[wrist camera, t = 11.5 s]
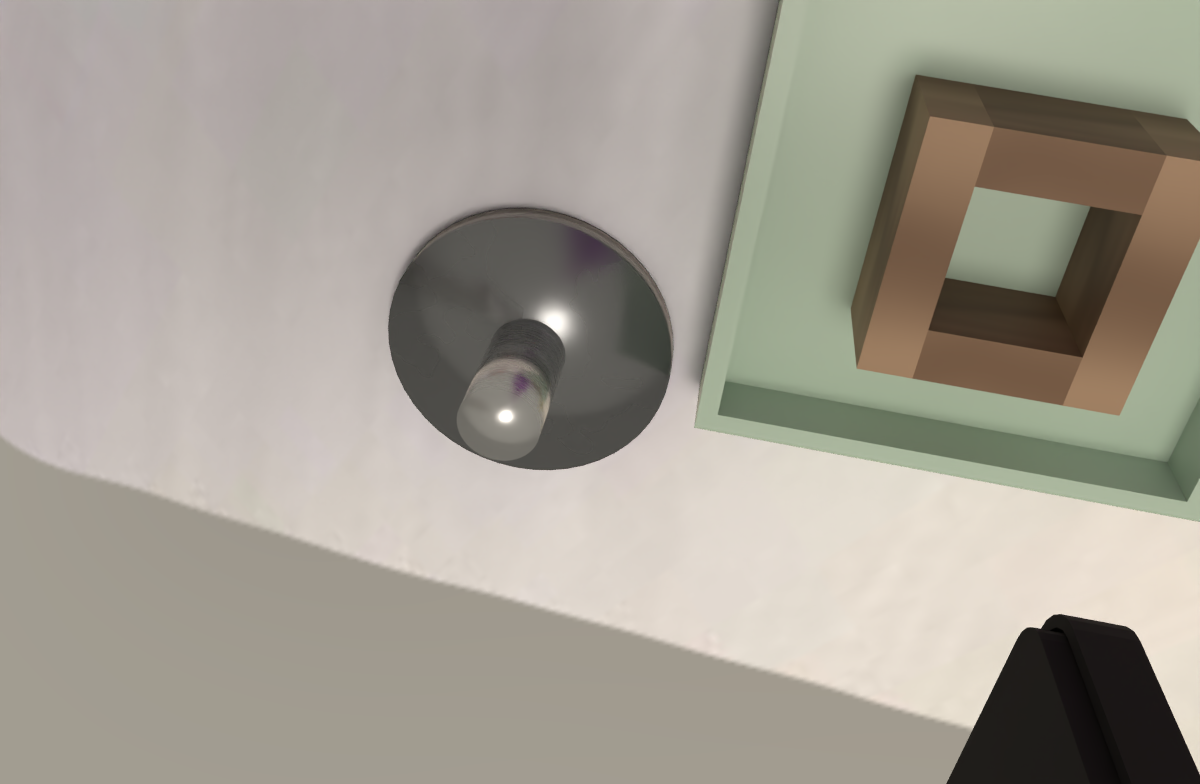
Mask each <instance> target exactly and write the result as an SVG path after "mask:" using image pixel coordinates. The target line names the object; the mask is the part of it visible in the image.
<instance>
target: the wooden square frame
mask: <svg viewBox="0 0 1200 784" xmlns="http://www.w3.org/2000/svg"><path fill="white" fill-rule="evenodd" d="M974 187H979V188H985V189H991V190H997V191H1003V192H1008V193H1014V194H1020V195H1026V196H1032V197H1038V198H1044V199H1050V200H1056V201H1062V202H1067V203H1073V204H1079V205H1085V206H1090V209H1089V212H1088V214H1087V217H1086V219H1085V222H1084V224H1083V227H1082V230H1081V232H1080V235H1079V237H1078V240H1077V243H1076V245H1075V248H1074V250H1073V253H1072V255H1071V258H1070V261H1069V263H1068V266H1067V268H1066V271H1065V273H1064V276H1063V279H1062V281H1061V284H1060V286H1059V289H1058V291H1057V294H1056V297H1053V296H1047V295H1042V294H1036V293H1030V292H1024V291H1019V290H1013V289H1007V288H1001V287H996V286H990V285H984V284H979V283H973V282H967V281H961V280H956V279H950V278H945V277H946V274H947V270H948V267H949V264H950V261H951V258H952V255H953V252H954V249H955V246H956V243H957V240H958V237H959V234H960V230H961V227H962V224H963V221H964V218H965V215H966V212H967V209H968V206H969V203H970V200H971V197H972V193H973V190H974ZM1199 239H1200V132H1199V131H1198V130H1197V129H1196V128H1195V127H1194V126H1193V125H1192V124H1191V123H1190V122H1189V121H1188V120H1187V119H1183V118H1177V117H1171V116H1165V115H1159V114H1153V113H1147V112H1141V111H1135V110H1129V109H1123V108H1116V107H1110V106H1104V105H1098V104H1092V103H1086V102H1080V101H1074V100H1068V99H1062V98H1056V97H1049V96H1043V95H1037V94H1031V93H1025V92H1019V91H1013V90H1007V89H1001V88H995V87H989V86H983V85H976V84H970V83H964V82H958V81H952V80H946V79H940V78H934V77H928V76H922V75H916V76H915V79H914V83H913V86H912V90H911V94H910V97H909V101H908V104H907V108H906V112H905V115H904V119H903V122H902V126H901V130H900V133H899V137H898V140H897V144H896V148H895V151H894V155H893V158H892V162H891V166H890V169H889V173H888V176H887V180H886V183H885V187H884V191H883V194H882V198H881V201H880V205H879V209H878V212H877V216H876V219H875V223H874V227H873V230H872V234H871V237H870V241H869V245H868V248H867V252H866V255H865V259H864V263H863V266H862V270H861V273H860V277H859V281H858V284H857V288H856V291H855V295H854V299H853V302H852V306H851V318H852V328H853V338H854V348H855V357H856V367H857V369H861V370H867V371H873V372H878V373H884V374H889V375H895V376H900V377H906V378H912V379H917V380H923V381H928V382H934V383H939V384H945V385H951V386H956V387H962V388H967V389H973V390H978V391H984V392H989V393H995V394H1001V395H1006V396H1012V397H1017V398H1023V399H1028V400H1034V401H1040V402H1045V403H1051V404H1056V405H1062V406H1067V407H1073V408H1079V409H1084V410H1090V411H1095V412H1101V413H1106V414H1112V415H1117V416H1120V414H1121V411H1122V409H1123V407H1124V405H1125V403H1126V400H1127V398H1128V396H1129V394H1130V392H1131V389H1132V387H1133V385H1134V383H1135V381H1136V378H1137V376H1138V374H1139V372H1140V370H1141V367H1142V365H1143V363H1144V361H1145V359H1146V356H1147V354H1148V352H1149V350H1150V348H1151V345H1152V343H1153V341H1154V339H1155V336H1156V334H1157V332H1158V330H1159V328H1160V325H1161V323H1162V321H1163V319H1164V317H1165V314H1166V312H1167V310H1168V308H1169V306H1170V303H1171V301H1172V299H1173V297H1174V295H1175V292H1176V290H1177V288H1178V286H1179V284H1180V281H1181V279H1182V277H1183V275H1184V272H1185V270H1186V268H1187V266H1188V264H1189V261H1190V259H1191V257H1192V255H1193V253H1194V250H1195V248H1196V246H1197V244H1198V242H1199Z"/></svg>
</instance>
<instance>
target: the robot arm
mask: <svg viewBox="0 0 1200 784" xmlns="http://www.w3.org/2000/svg"><path fill="white" fill-rule="evenodd" d="M947 784H1200V774H1199V772H1198V770H1197V767H1196V765H1195V763H1194V761H1193V758H1192V756H1191V754H1190V752H1189V749H1188V747H1187V745H1186V743H1185V740H1184V738H1183V736H1182V734H1181V731H1180V729H1179V727H1178V725H1177V722H1176V720H1175V718H1174V716H1173V714H1172V711H1171V709H1170V707H1169V705H1168V702H1167V700H1166V698H1165V696H1164V693H1163V691H1162V689H1161V687H1160V684H1159V682H1158V680H1157V678H1156V675H1155V673H1154V671H1153V669H1152V666H1151V664H1150V662H1149V660H1148V657H1147V655H1146V653H1145V651H1144V648H1143V646H1142V644H1141V642H1140V640H1139V638H1138V637H1137V635H1136V634H1135V632H1134V631H1133V630H1131V629H1129V628H1128V627H1126V626H1121V625H1115V624H1110V623H1105V622H1099V621H1094V620H1089V619H1083V618H1078V617H1073V616H1067V615H1062V614H1058V615H1053V616H1051V617H1050V618H1049V619H1048V620H1046V622H1045V623H1044V625H1043V626H1042V628H1041V629H1038V628H1033V627H1030V628H1026V629H1025V630H1023V631H1022V632H1021V634H1020V636H1019V637H1018V639H1017V641H1016V643H1015V645H1014V647H1013V649H1012V651H1011V653H1010V655H1009V657H1008V659H1007V661H1006V663H1005V665H1004V667H1003V669H1002V671H1001V673H1000V675H999V677H998V679H997V681H996V683H995V686H994V688H993V690H992V692H991V694H990V696H989V698H988V700H987V702H986V704H985V706H984V708H983V710H982V712H981V714H980V716H979V718H978V720H977V722H976V724H975V726H974V728H973V730H972V732H971V735H970V737H969V739H968V741H967V743H966V745H965V747H964V749H963V751H962V753H961V755H960V757H959V759H958V761H957V763H956V765H955V767H954V769H953V771H952V774H951V776H950V777H949V780H948V781H947Z"/></svg>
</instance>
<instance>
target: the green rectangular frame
mask: <svg viewBox="0 0 1200 784" xmlns="http://www.w3.org/2000/svg"><path fill="white" fill-rule="evenodd" d="M916 75H922V76H928V77H934V78H940V79H946V80H952V81H958V82H964V83H970V84H976V85H983V86H989V87H995V88H1001V89H1007V90H1013V91H1019V92H1025V93H1031V94H1037V95H1043V96H1049V97H1056V98H1062V99H1068V100H1074V101H1080V102H1086V103H1092V104H1098V105H1104V106H1110V107H1116V108H1123V109H1129V110H1135V111H1141V112H1147V113H1153V114H1159V115H1165V116H1171V117H1177V118H1183V119H1187V120H1188V121H1189V122H1190V123H1191V124H1192V125H1193V126H1194V127H1195V128H1196V129H1197V130H1198V131H1199V132H1200V0H779V5H778V10H777V14H776V19H775V24H774V29H773V34H772V39H771V43H770V48H769V53H768V58H767V63H766V68H765V72H764V77H763V82H762V87H761V92H760V97H759V101H758V106H757V111H756V116H755V121H754V126H753V130H752V135H751V140H750V145H749V150H748V155H747V159H746V164H745V169H744V174H743V179H742V184H741V188H740V193H739V198H738V203H737V208H736V213H735V217H734V222H733V227H732V232H731V237H730V242H729V247H728V251H727V256H726V261H725V266H724V271H723V276H722V280H721V285H720V290H719V295H718V300H717V305H716V309H715V314H714V319H713V324H712V329H711V334H710V338H709V343H708V348H707V353H706V358H705V363H704V367H703V372H702V377H701V382H700V388H699V395H698V403H697V411H696V418H695V426H694V428H699V429H704V430H710V431H715V432H721V433H726V434H731V435H737V436H742V437H747V438H753V439H758V440H763V441H769V442H774V443H779V444H785V445H790V446H796V447H801V448H806V449H812V450H817V451H822V452H828V453H833V454H838V455H844V456H849V457H855V458H860V459H865V460H871V461H876V462H881V463H887V464H892V465H897V466H903V467H908V468H913V469H919V470H924V471H930V472H935V473H940V474H946V475H951V476H956V477H962V478H967V479H972V480H978V481H983V482H989V483H994V484H999V485H1005V486H1010V487H1015V488H1021V489H1026V490H1031V491H1037V492H1042V493H1047V494H1053V495H1058V496H1064V497H1069V498H1074V499H1080V500H1085V501H1090V502H1096V503H1101V504H1106V505H1112V506H1117V507H1123V508H1128V509H1133V510H1139V511H1144V512H1149V513H1155V514H1160V515H1165V516H1171V517H1176V518H1181V519H1187V520H1192V521H1198V522H1200V239H1199V242H1198V244H1197V246H1196V248H1195V250H1194V253H1193V255H1192V257H1191V259H1190V261H1189V264H1188V266H1187V268H1186V270H1185V272H1184V275H1183V277H1182V279H1181V281H1180V284H1179V286H1178V288H1177V290H1176V292H1175V295H1174V297H1173V299H1172V301H1171V303H1170V306H1169V308H1168V310H1167V312H1166V314H1165V317H1164V319H1163V321H1162V323H1161V325H1160V328H1159V330H1158V332H1157V334H1156V336H1155V339H1154V341H1153V343H1152V345H1151V348H1150V350H1149V352H1148V354H1147V356H1146V359H1145V361H1144V363H1143V365H1142V367H1141V370H1140V372H1139V374H1138V376H1137V378H1136V381H1135V383H1134V385H1133V387H1132V389H1131V392H1130V394H1129V396H1128V398H1127V400H1126V403H1125V405H1124V407H1123V409H1122V411H1121V414H1120V416H1117V415H1112V414H1106V413H1101V412H1095V411H1090V410H1084V409H1079V408H1073V407H1067V406H1062V405H1056V404H1051V403H1045V402H1040V401H1034V400H1028V399H1023V398H1017V397H1012V396H1006V395H1001V394H995V393H989V392H984V391H978V390H973V389H967V388H962V387H956V386H951V385H945V384H939V383H934V382H928V381H923V380H917V379H912V378H906V377H900V376H895V375H889V374H884V373H878V372H873V371H867V370H861V369H857V367H856V357H855V348H854V338H853V328H852V318H851V306H852V302H853V299H854V295H855V291H856V288H857V284H858V281H859V277H860V273H861V270H862V266H863V263H864V259H865V255H866V252H867V248H868V245H869V241H870V237H871V234H872V230H873V227H874V223H875V219H876V216H877V212H878V209H879V205H880V201H881V198H882V194H883V191H884V187H885V183H886V180H887V176H888V173H889V169H890V166H891V162H892V158H893V155H894V151H895V148H896V144H897V140H898V137H899V133H900V130H901V126H902V122H903V119H904V115H905V112H906V108H907V104H908V101H909V97H910V94H911V90H912V86H913V83H914V79H915V76H916ZM1089 209H1090V206H1085V205H1079V204H1073V203H1067V202H1062V201H1056V200H1050V199H1044V198H1038V197H1032V196H1026V195H1020V194H1014V193H1008V192H1003V191H997V190H991V189H985V188H979V187H974V190H973V193H972V197H971V200H970V203H969V206H968V209H967V212H966V215H965V218H964V221H963V224H962V227H961V230H960V234H959V237H958V240H957V243H956V246H955V249H954V252H953V255H952V258H951V261H950V264H949V267H948V270H947V274H946V277H945V278H950V279H956V280H961V281H967V282H973V283H979V284H984V285H990V286H996V287H1001V288H1007V289H1013V290H1019V291H1024V292H1030V293H1036V294H1042V295H1047V296H1053V297H1056V294H1057V291H1058V289H1059V286H1060V284H1061V281H1062V279H1063V276H1064V273H1065V271H1066V268H1067V266H1068V263H1069V261H1070V258H1071V255H1072V253H1073V250H1074V248H1075V245H1076V243H1077V240H1078V237H1079V235H1080V232H1081V230H1082V227H1083V224H1084V222H1085V219H1086V217H1087V214H1088V212H1089Z"/></svg>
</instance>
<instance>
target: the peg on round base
mask: <svg viewBox="0 0 1200 784" xmlns="http://www.w3.org/2000/svg"><path fill="white" fill-rule="evenodd" d="M388 331H389V345H390V351H391V356H392V360H393V363H394V366H395V369H396V372H397V375H398V377H399V379H400V381H401V383H402V385H403V387H404V390H405V391H406V393H407V394H408V396H409V397H410V399H411V400H412V402H413V404H414V405H415V406H416V407H417V409H418V410H419V411H420V412H421V413H422V415H423V416H424V417H425V418H426V419H427V420H428V421H429V422H430V423H431V424H432V425H433V426H434V427H435V428H436V429H437V430H439V431H440V432H441V433H443V434H444V435H445V436H446V437H448V438H449V439H450V440H452V441H453V442H455V443H457V444H458V445H460V446H461V447H463V448H465V449H466V450H468V451H470V452H473V453H475V454H477V455H479V456H481V457H483V458H486V459H489V460H492V461H494V462H497V463H501V464H505V465H509V466H513V467H518V468H525V469H533V470H556V469H568V468H573V467H578V466H583V465H586V464H589V463H592V462H595V461H598V460H601V459H603V458H605V457H607V456H609V455H611V454H613V453H615V452H617V451H618V450H620V449H621V448H623V447H624V446H626V445H627V444H629V443H630V442H631V441H632V440H633V439H634V438H636V437H637V436H638V435H639V434H640V433H641V432H642V431H643V430H644V429H645V427H646V426H647V425H648V424H649V423H650V421H651V420H652V418H653V417H654V415H655V414H656V412H657V411H658V409H659V407H660V405H661V402H662V400H663V398H664V395H665V393H666V389H667V385H668V381H669V377H670V372H671V366H672V357H673V332H672V327H671V322H670V317H669V314H668V311H667V308H666V305H665V302H664V299H663V297H662V295H661V293H660V291H659V289H658V287H657V285H656V284H655V282H654V281H653V279H652V278H651V276H650V275H649V273H648V272H647V270H646V269H645V268H644V267H643V266H642V264H641V263H640V262H639V261H638V260H637V259H636V258H635V257H634V255H633V254H631V253H630V252H629V251H628V250H627V249H626V248H625V247H623V246H622V245H621V244H620V243H619V242H618V241H616V240H615V239H613V238H612V237H610V236H609V235H607V234H606V233H604V232H603V231H601V230H599V229H597V228H595V227H593V226H591V225H590V224H588V223H586V222H583V221H581V220H578V219H575V218H573V217H570V216H567V215H564V214H560V213H555V212H551V211H547V210H539V209H530V208H507V209H500V210H493V211H488V212H484V213H480V214H477V215H473V216H470V217H468V218H466V219H463V220H461V221H459V222H456V223H455V224H453V225H451V226H450V227H448V228H446V229H445V230H443V231H442V232H440V233H439V234H438V235H436V236H435V237H434V238H433V239H432V240H431V241H429V242H428V243H427V244H426V245H425V246H424V248H423V249H422V250H421V251H420V252H419V253H418V254H417V256H416V257H415V259H414V260H413V262H412V263H411V265H410V266H409V268H408V269H407V271H406V272H405V274H404V275H403V277H402V279H401V280H400V282H399V285H398V287H397V289H396V292H395V294H394V297H393V301H392V305H391V309H390V315H389V325H388Z"/></svg>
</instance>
